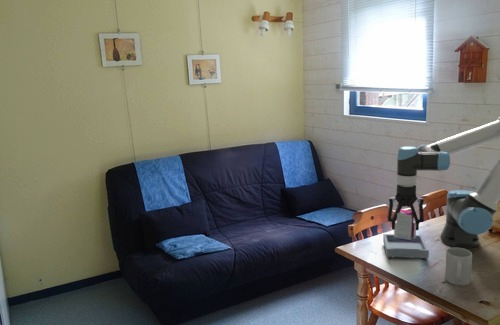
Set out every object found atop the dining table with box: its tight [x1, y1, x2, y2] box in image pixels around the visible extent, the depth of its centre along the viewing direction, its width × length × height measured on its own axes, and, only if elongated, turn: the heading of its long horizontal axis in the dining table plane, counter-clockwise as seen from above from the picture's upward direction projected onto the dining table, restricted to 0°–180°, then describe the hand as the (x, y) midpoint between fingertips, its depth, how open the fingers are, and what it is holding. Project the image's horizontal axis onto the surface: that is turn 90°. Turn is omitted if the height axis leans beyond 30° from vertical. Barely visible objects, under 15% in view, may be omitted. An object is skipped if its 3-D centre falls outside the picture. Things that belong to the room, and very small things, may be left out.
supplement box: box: [396, 209, 414, 241], centre depth 175 cm, size 6×6×12 cm
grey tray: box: [382, 233, 430, 262], centre depth 178 cm, size 16×16×5 cm
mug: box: [444, 246, 473, 286], centre depth 151 cm, size 12×8×11 cm
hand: (404, 236), depth 177 cm, fingers closed on supplement box, 7 cm apart
